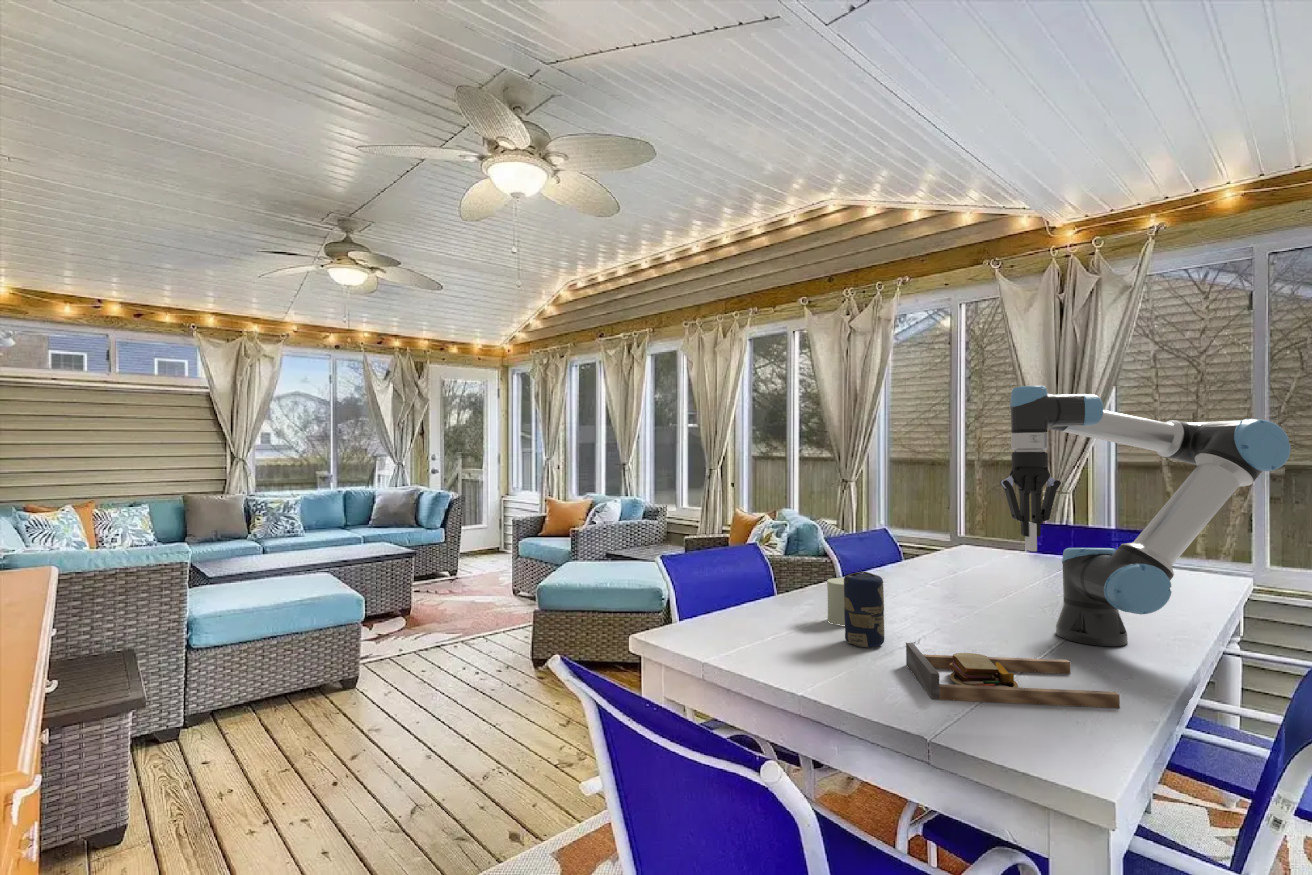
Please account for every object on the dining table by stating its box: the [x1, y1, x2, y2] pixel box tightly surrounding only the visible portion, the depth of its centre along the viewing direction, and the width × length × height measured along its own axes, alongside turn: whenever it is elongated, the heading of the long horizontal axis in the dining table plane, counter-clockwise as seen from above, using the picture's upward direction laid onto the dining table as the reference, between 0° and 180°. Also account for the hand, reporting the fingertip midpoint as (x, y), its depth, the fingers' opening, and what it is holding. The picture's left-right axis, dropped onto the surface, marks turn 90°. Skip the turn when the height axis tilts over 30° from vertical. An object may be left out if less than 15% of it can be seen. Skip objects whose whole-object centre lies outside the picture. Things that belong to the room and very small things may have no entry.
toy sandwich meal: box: [949, 652, 1019, 688], centre depth 133 cm, size 12×14×5 cm
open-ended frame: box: [905, 642, 1121, 709], centre depth 132 cm, size 34×20×5 cm, turn 82°
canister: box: [843, 571, 885, 648], centre depth 160 cm, size 10×10×18 cm
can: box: [826, 577, 845, 625], centre depth 180 cm, size 9×9×12 cm
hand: (1031, 550), depth 152 cm, fingers closed
